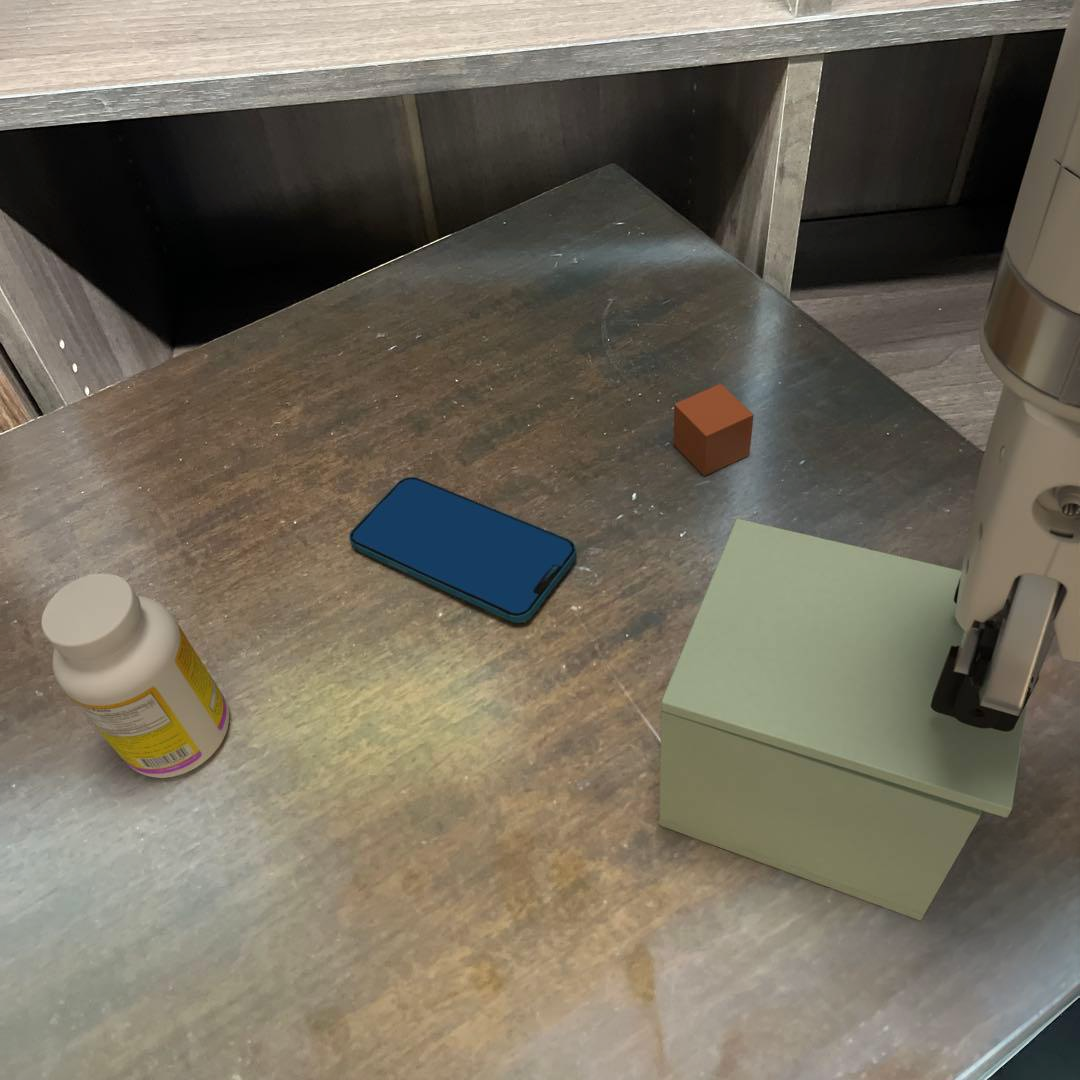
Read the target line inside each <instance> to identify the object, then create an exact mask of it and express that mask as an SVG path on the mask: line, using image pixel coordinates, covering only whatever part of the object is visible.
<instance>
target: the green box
mask: <svg viewBox="0 0 1080 1080" xmlns="http://www.w3.org/2000/svg"><path fill="white" fill-rule="evenodd" d="M659 745H660V746H659V747H660V752H659V754H660V755H659V804H658V805H659V808H658V809H659V811H658V826H660V827H662V828H665V829H669V830H671V831H673V832H676V833H680V834H681V835H682V834H683V835H684V836H686V837H687V836H688V837H691V838H693V839H696V840H699V841H701V842H704V843H706V844H710V845H713V846H715V847H718V848H721V849H723V850H726V851H729V852H732V853H734V854H737V855H740V856H742V857H745V858H748V859H750V860H753V861H755V862H759V863H761V864H764V865H767V866H769V867H772V868H774V869H778V870H781V871H783V872H786V873H789V874H791V875H794V876H797V877H799V878H802V879H806V880H807V881H810V882H813V883H816V884H819V885H822V886H825V887H826V888H830V889H833V890H835V891H838V892H841V893H844V894H846V895H849V896H851V897H854V898H858V899H859V900H862V901H865V902H868V903H871V904H874V905H876V906H879V907H881V908H884V909H887V910H889V911H893V912H895V913H898V914H901V915H903V916H907V917H909V918H913V919H914V920H917V921H922V919H923V918H924V916H925V914H926V913H927V910H928V909H929V907H930V905H931V904H932V902H933V900H934V898H935V897H936V895H937V893H938V891H939V890H940V888H941V887H942V884H943V883H944V880H945V879H946V877H947V875H948V874H949V872H950V870H951V868H952V867H953V865H954V863H955V861H956V860H957V858H958V856H959V854H960V853H961V851H962V849H963V847H964V846H965V844H966V842H967V840H968V838H970V835H971V833H972V832H973V830H974V828H975V826H976V825H977V823H978V821H979V820H980V817H981V815H982V810H980V809H977V808H973V807H970V806H967V805H964V804H960V803H957V802H954V801H951V800H948V799H944V798H941V797H938V796H935V795H931V794H928V793H925V792H922V791H919V790H915V789H912V788H909V787H906V786H903V785H899V784H896V783H893V782H890V781H886V780H883V779H880V778H877V777H874V776H870V775H867V774H864V773H861V772H857V771H854V770H851V769H848V768H845V767H841V766H838V765H835V764H832V763H828V762H825V761H822V760H819V759H816V758H812V757H809V756H806V755H803V754H800V753H796V752H793V751H790V750H787V749H783V748H780V747H777V746H774V745H771V744H767V743H764V742H761V741H758V740H754V739H751V738H748V737H745V736H742V735H738V734H735V733H732V732H729V731H725V730H722V729H719V728H716V727H713V726H709V725H706V724H703V723H700V722H696V721H693V720H690V719H687V718H684V717H680V716H677V715H674V714H671V713H668V712H664V711H662V709H661V711H660V744H659Z"/></svg>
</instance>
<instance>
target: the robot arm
mask: <svg viewBox="0 0 1080 1080" xmlns="http://www.w3.org/2000/svg"><path fill="white" fill-rule="evenodd" d="M1070 10H1071V11H1070V15H1069V18H1068V21H1067V25H1066V28H1065V32H1064V35H1063V39H1062V43H1061V46H1060V49H1059V54H1058V56H1057V60H1056V63H1055V66H1054V71H1053V74H1052V78H1051V81H1050V84H1049V89H1048V92H1047V95H1046V99H1045V101H1044V105H1043V108H1042V112H1041V117H1040V118H1039V119H1040V120H1039V123H1038V127H1037V130H1036V133H1035V137H1034V140H1033V143H1032V147H1031V150H1030V154H1029V157H1028V160H1027V164H1026V168H1025V170H1024V174H1023V176H1022V177H1023V178H1022V180H1021V184H1020V187H1019V191H1018V194H1017V198H1016V201H1015V205H1014V209H1013V212H1012V215H1011V219H1010V222H1009V226H1008V230H1007V234H1006V237H1005V241H1004V244H1003V247H1002V252H1001V255H1000V258H999V262H998V265H997V269H996V271H995V276H994V279H993V282H992V285H991V289H990V293H989V296H988V300H987V303H986V307H985V310H984V311H983V317H982V320H981V323H980V327H979V331H978V340H979V348H980V352H981V354H982V356H983V358H984V361H985V363H986V364H987V365H986V366H988V367H989V369H990V371H991V372H992V373H993V375H995V377H996V378H997V379H998V380H999V381H1000V382H1001V383H1002V384H1003V386H1002V389H1001V392H1000V396H999V399H998V403H997V406H996V409H995V412H994V416H993V419H992V422H991V426H990V431H989V433H988V437H987V441H986V445H985V449H984V453H983V456H982V460H981V464H980V467H979V468H980V469H979V472H978V477H977V481H976V485H975V491H974V496H973V501H972V506H971V512H970V517H969V523H968V528H967V535H966V536H967V537H966V541H965V546H964V553H963V558H962V566H961V570H960V571H961V577H960V580H959V582H958V585H957V588H956V591H955V596H954V602H955V603H956V604H957V605H956V612H955V618H956V620H957V622H958V623H959V625H960V626H961V627H962V629H963V630H964V634H963V637H962V640H961V644H960V646H956V647H955V646H951V648H950V651H949V653H948V656H947V659H946V661H945V664H944V667H943V670H942V672H941V675H940V678H939V680H938V683H937V686H936V688H935V691H934V694H933V698H932V702H931V708H932V709H933V710H934V711H935V712H938V713H941V714H944V715H948V716H951V717H954V718H956V719H957V720H958V721H960V722H962V723H964V724H967V725H970V726H974V727H978V728H986V729H987V728H992V729H996V730H999V731H1004V732H1008V731H1012V730H1013V729H1014V727H1015V725H1016V723H1017V721H1018V719H1019V717H1020V715H1021V713H1022V711H1023V709H1024V707H1025V705H1026V703H1027V701H1028V702H1029V699H1030V697H1031V695H1032V694H1033V692H1034V689H1035V688H1036V685H1037V683H1038V681H1039V680H1040V679H1039V678H1040V673H1041V670H1042V668H1043V665H1044V663H1045V661H1046V657H1047V655H1048V653H1049V650H1050V647H1051V645H1052V643H1053V640H1054V638H1056V644H1057V648H1058V651H1059V655H1060V657H1061V660H1064V661H1069V662H1074V663H1079V664H1080V0H1074V1H1073V3H1072V6H1071V9H1070ZM1007 599H1009V601H1006V600H1007ZM985 626H986V627H989V628H993V629H997V630H1000V632H999V635H998V638H997V642H996V645H995V648H993V647H989V646H986V645H982V644H979V643H980V640H981V638H982V635H983V632H984V629H985ZM1027 704H1028V703H1027Z"/></svg>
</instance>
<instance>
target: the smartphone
mask: <svg viewBox="0 0 1080 1080" xmlns="http://www.w3.org/2000/svg"><path fill="white" fill-rule="evenodd" d="M348 539H349V541H350V545H351V547H352V548H353V550H355V551H357V552H359V553H361V554H363V555H365V556H367V557H370V558H372V559H374V560H376V561H379V562H380V563H382V564H385V565H387V566H390V567H392V568H393V569H395V570H398V571H400V572H402V573H404V574H407V575H409V576H411V577H413V578H415V579H417V580H419V581H422V582H424V583H426V584H428V585H430V586H433V587H435V588H436V589H439V590H441V591H444V592H445V593H447V594H450V595H452V596H454V597H456V598H459V599H461V600H462V601H465V602H467V603H470V604H472V605H474V606H476V607H478V608H480V609H483V610H484V611H487V612H489V613H491V614H492V615H496V616H498V617H500V618H502V619H504V620H506V621H508V622H511V623H514V624H515V623H516V624H520V623H524V622H527V621H528V620H530V619H531V618H533V616H534V615H535V614H536V612H537V611H538V610H539V609H540V607H541V605H543V603H544V602H545V600H546V599H547V597H549V595H550V594H551V592H552V591H553V590H554V589H555V587H556V586H557V585H558V583H559V582H560V581H561V580H562V578H563V577H564V576H565V574H566V573H567V572H568V570H570V568H571V566H572V565H573V564H574V562H575V561H576V560H577V556H578V555H577V546H576V544H575V542H573V540H571V539H569V538H567V537H565V536H562V535H561V534H557V533H555V532H553V531H550V530H547V529H545V528H543V527H540V526H538V525H535V524H533V523H530V522H527V521H525V520H522V519H521V518H518V517H515V516H513V515H510V514H509V513H505V512H503V511H500V510H498V509H496V508H493V507H491V506H488V505H486V504H484V503H481V502H478V501H476V500H473V499H471V498H470V497H469V498H468V497H467V496H463V495H461V494H459V493H456V492H453V491H452V490H449V489H446V488H444V487H442V486H439V485H436V484H434V483H431V482H429V481H427V480H425V479H421V478H419V477H416V476H407V477H403V478H402V479H400V480H398V482H396V484H394V486H393V487H392V488H391V489H390V490H389V491H388V492H387V493H385V495H384V496H383V497H382V498H381V499H380V500H379V502H377V503H376V505H374V507H372V508H371V510H370V511H368V513H367V514H366V515H365V516H364V517H363V518H362V519H361V520H360V521H359V522H358V523H357V524H356V525H355V526H354V527H353V528H352V530H351V531H350V532H349V537H348Z"/></svg>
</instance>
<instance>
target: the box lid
mask: <svg viewBox="0 0 1080 1080" xmlns="http://www.w3.org/2000/svg"><path fill="white" fill-rule="evenodd" d="M961 571H962V570H959V569H954V568H952V567H951V568H949V567H947V566H941V565H938V564H933V563H929V562H925V561H921V560H917V559H912V558H909V557H905V556H904V557H903V556H899V555H895V554H891V553H886V552H882V551H877V550H873V549H869V548H865V547H862V546H861V547H860V546H856V545H853V544H849V543H844V542H839V541H835V540H832V539H827V538H822V537H817V536H815V535H809V534H807V533H802V532H797V531H793V530H788V529H783V528H780V527H776V526H771V525H768V524H762V523H758V522H754V521H749V520H746V519H741V518H736V519H735V521H734V523H733V526H732V528H731V530H730V533H729V535H728V537H727V540H726V543H725V545H724V548H723V550H722V552H721V554H720V557H719V559H718V562H717V564H716V567H715V569H714V572H713V575H712V577H711V579H710V581H709V584H708V586H707V589H706V591H705V594H704V596H703V599H702V601H701V603H700V606H699V608H698V611H697V613H696V616H695V618H694V621H693V623H692V626H691V628H690V630H689V633H688V635H687V637H686V639H685V642H684V645H683V647H682V650H681V652H680V655H679V657H678V659H677V662H676V664H675V667H674V669H673V671H672V674H671V677H670V679H669V680H668V683H667V686H666V687H665V691H664V694H663V696H662V698H661V703H660V705H661V706H660V707H661V710H662V711H664V712H668V713H671V714H674V715H677V716H680V717H684V718H687V719H690V720H693V721H696V722H700V723H703V724H706V725H709V726H713V727H716V728H719V729H722V730H725V731H729V732H732V733H735V734H738V735H742V736H745V737H748V738H751V739H754V740H758V741H761V742H764V743H767V744H771V745H774V746H777V747H780V748H783V749H787V750H790V751H793V752H796V753H800V754H803V755H806V756H809V757H812V758H816V759H819V760H822V761H825V762H828V763H832V764H835V765H838V766H841V767H845V768H848V769H851V770H854V771H857V772H861V773H864V774H867V775H870V776H874V777H877V778H880V779H883V780H886V781H890V782H893V783H896V784H899V785H903V786H906V787H909V788H912V789H915V790H919V791H922V792H925V793H928V794H931V795H935V796H938V797H941V798H944V799H948V800H951V801H954V802H957V803H960V804H964V805H967V806H970V807H973V808H977V809H980V810H981V811H984V812H986V813H990V814H993V815H996V816H1000V817H1002V818H1008V817H1009V816H1010V813H1011V811H1012V810H1013V805H1014V798H1015V791H1016V783H1017V778H1018V770H1019V764H1020V758H1021V751H1022V750H1021V749H1022V745H1023V736H1024V730H1025V725H1026V724H1025V723H1026V716H1027V710H1028V702H1029V700H1028V701H1027V703H1026V705H1025V707H1024V709H1023V711H1022V713H1021V715H1020V717H1019V719H1018V721H1017V723H1016V725H1015V727H1014V729H1013V730H1012V731H1008V732H1004V731H999V730H996V729H992V728H987V729H986V728H978V727H974V726H970V725H967V724H964V723H962V722H960V721H958V720H957V719H956V718H954V717H951V716H948V715H944V714H941V713H938V712H935V711H934V710H933V709H932V708H931V702H932V698H933V694H934V691H935V688H936V686H937V683H938V680H939V678H940V675H941V672H942V670H943V667H944V664H945V661H946V659H947V656H948V653H949V651H950V648H951V646H955V647H956V646H960V644H961V640H962V637H963V634H964V630H963V629H962V627H961V626H960V625H959V623H958V622H957V620H956V618H955V612H956V605H957V604H956V603H955V602H954V596H955V591H956V588H957V585H958V582H959V580H960V577H961ZM1006 601H1009V599H1007V600H1006ZM999 632H1000V630H997V629H993V628H989V627H986V626H985V629H984V632H983V635H982V638H981V640H980V643H979V644H982V645H986V646H989V647H993V648H995V645H996V642H997V638H998V635H999Z"/></svg>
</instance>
